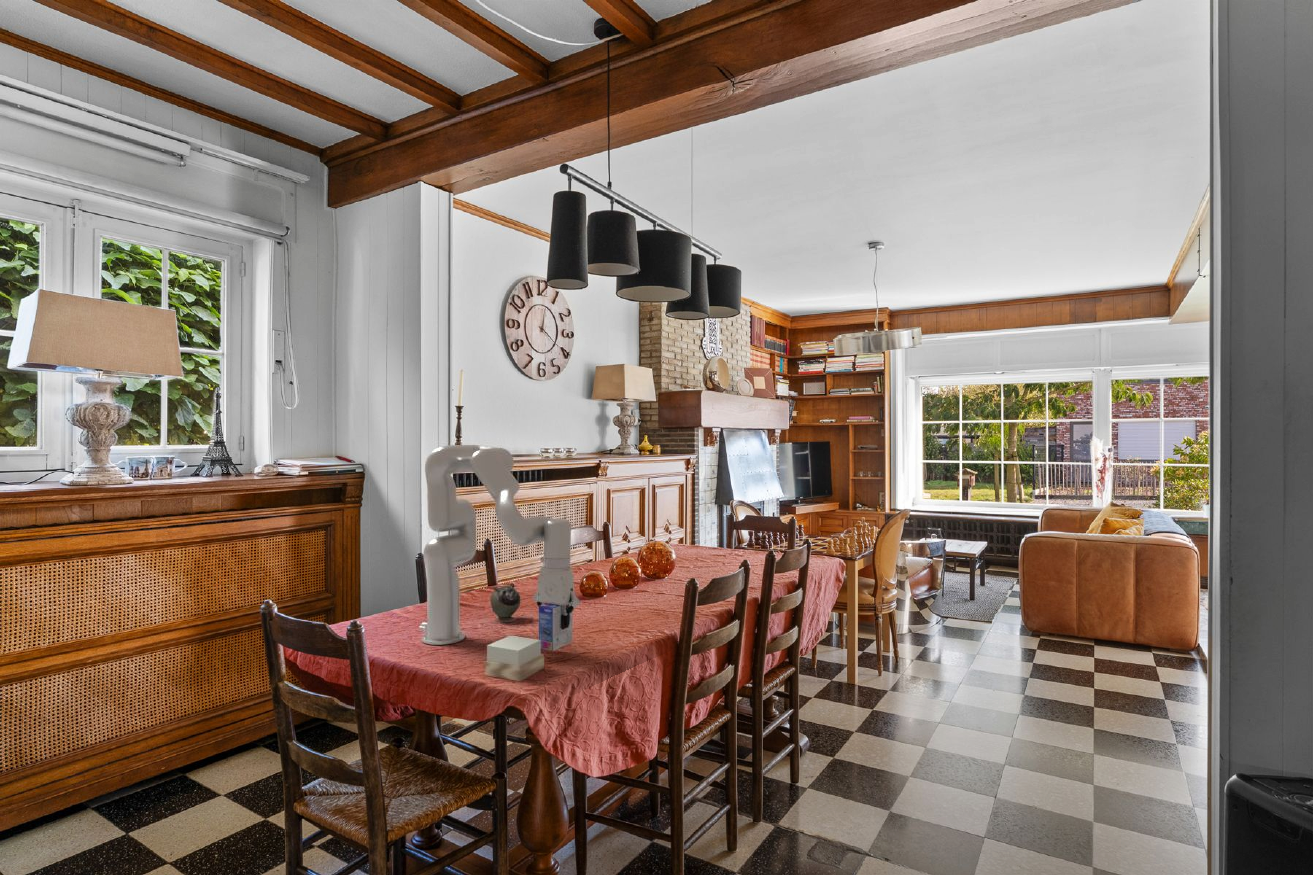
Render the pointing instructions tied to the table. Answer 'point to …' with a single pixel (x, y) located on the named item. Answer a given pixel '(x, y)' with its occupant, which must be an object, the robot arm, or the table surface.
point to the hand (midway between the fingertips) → (555, 625)
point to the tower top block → (513, 650)
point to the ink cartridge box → (553, 627)
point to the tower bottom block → (514, 669)
